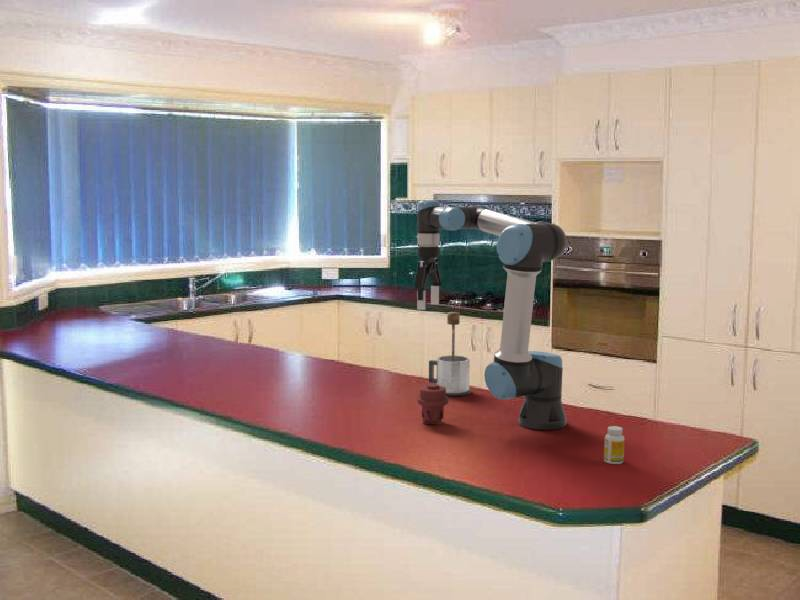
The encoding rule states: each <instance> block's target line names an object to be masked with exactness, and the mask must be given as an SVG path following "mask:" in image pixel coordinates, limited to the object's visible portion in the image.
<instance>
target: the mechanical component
mask: <svg viewBox="0 0 800 600" xmlns="http://www.w3.org/2000/svg"><path fill="white" fill-rule="evenodd" d="M416 401H417V404H418V405H420V406H421V419H422V424H424V425H428V424H429V425H442V420H443V419H444V418H445V415H444V414H445V408H444V407H445V406H447V405H448V404H449V403H450V402H449V396H446V388H445V387H442V386H439V385H438V384H437V383H428V384H427V385H423V386H421V387H420V388H419V396H417V399H416Z"/></svg>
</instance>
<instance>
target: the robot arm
mask: <svg viewBox="0 0 800 600" xmlns="http://www.w3.org/2000/svg"><path fill="white" fill-rule="evenodd" d="M416 213H417V235H416V239H417V245H419V246H418V247H417V257H418V258H421V260H418V261H417V271H416V276H415V277H416V278H415V281H414V282H415V283H414V289H413V291H416V300H417V301H416V302H417V303H416V310H417V311H418V310H419V311H426V290H425V289H426V286H427V285H426V284H427V281H428V278H430V282H431V285H430V305H438V306H439V305H440V287H441V286H442V285H443V283H442V278H441V271H440V266H439V257H440V244H441V243H440V240H441V239H440V230H446V231H457V230H467V229H468V230H471V229H473V230H478V231H481V232H483V233H484V232H485V233H487V234H491V235H494V236H497V237H498V239H497V243H496V253H497V254H498V258H499V260H500V262H501V263H503V264H502V265H503V266H502V268H503V269H504V270H505V272H506V273H507V275H506V276H507V277H506V285H505V295H504V305H503V315H502V316H503V317H502V325H501V334H500V335H501V336H500V344H499V346H500V348H499V349H498V350H496V351H495V352H494V353H493V354H494V355H493V362H490V363H488V364H487V366H486V367H485V369H484V375H483V376H484V382H485V386H486V388H487V389H488V391H489V393H490V394H491V395H492V396H493V397H494V398H496V399H499V400H513V399H516V398H520V397H524V400H523V403H522V405H521V408H520V411H519V414H518V424H519V425H520V426H522V427H523V428H527V429H531V430H540V431H552V430H560V429H564V428H566V426H567V415H566V412H565V409H564V404H563V402H562V394H563V393H562V392H563V391H562V390H563V388H562V387H563V369H564V367H563V359H562V357H561V356H560V355H559V354H557V353H551V352H545V351H538V350H537V351H536V350H529V345H530V337H531V336H530V334H531V328H532V327H531V326H532V318H533V309H534V298H535V289H536V283H537V281H536V280H537V275H539V274H540V273H541V272H542V271H543V265H544V263H545V262H551V261H555V260H557V259H558V258H559V257H561V256H562V255H563V253H564V251H566V250H565V249H566V248H567V244H568V243H567V235H566V233H565V231H564V230H563V228H561V227H560V225H557V224H555V223H552V222H551V223H550V222H546V221H542V220H541V221H537V222H534V221H531V220H527V219H524V218H522V217H521V218H520V217H516V216H513V215H510V214H506V213H502V212H499V211H495V210H493V209H492V208H491V207H490V206H487V205H478V206H441V204H440V201H439V200H428V199H427V200H425V199H424V200H423V199H422V200H420V201H418V203H417V211H416Z"/></svg>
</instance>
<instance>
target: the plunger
mask: <svg viewBox="0 0 800 600" xmlns="http://www.w3.org/2000/svg"><path fill="white" fill-rule="evenodd" d="M460 314H461V312H459V311H449V312H447V314H446V315H447V316H446V317H447V319H446V320H447V321H446V323H447V325H451V356H452V362H454V356H456V355H455V348H456V345H455V344H456V343H455V341H456V340H455V338H456V337H455V336H456V335H455V334H456V330H455V329H456V325H460V324H461V323H460V317H461V316H460Z"/></svg>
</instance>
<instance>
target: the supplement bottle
mask: <svg viewBox="0 0 800 600" xmlns="http://www.w3.org/2000/svg"><path fill="white" fill-rule="evenodd" d="M623 431H624V430H623V427H621V426H617V425H610V426H608V427H607V433H606V435H605V436H604V443H603V444H604V445H603V446H604V447H603V448H604V449H603V460H604V462H605V463H607V464H611V465H621V464H623V463H624V461H625V459H624V457H625V440H626V439H625V436H624V435H623V433H624V432H623Z"/></svg>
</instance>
